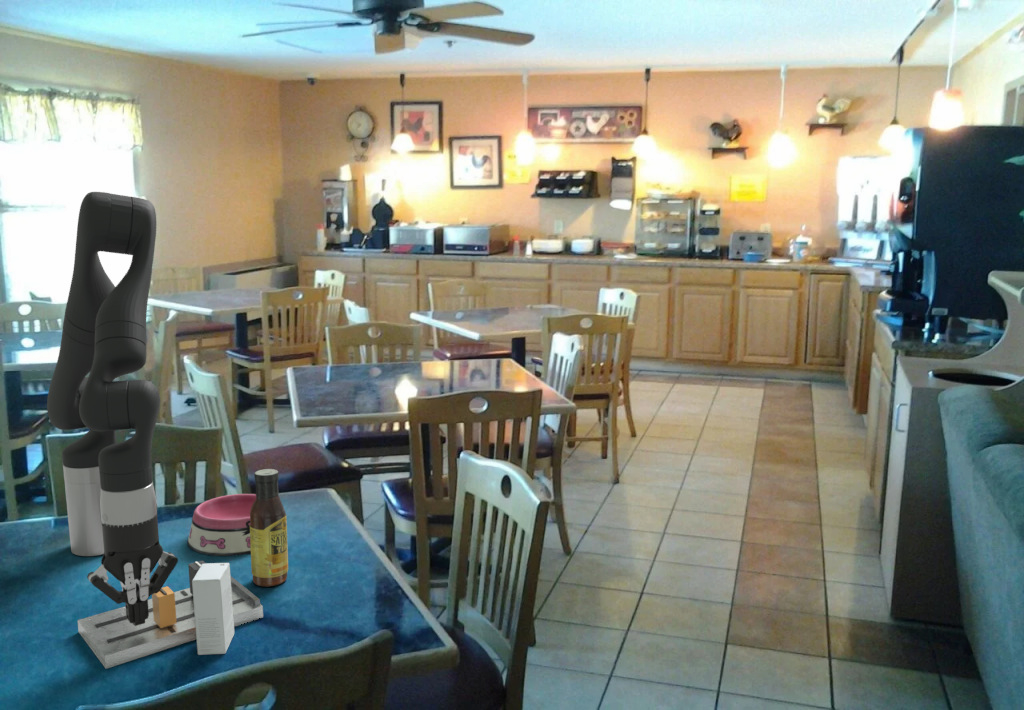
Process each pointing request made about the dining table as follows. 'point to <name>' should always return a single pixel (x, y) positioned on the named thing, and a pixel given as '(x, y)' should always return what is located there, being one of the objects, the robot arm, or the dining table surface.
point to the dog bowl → (222, 526)
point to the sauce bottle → (268, 531)
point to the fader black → (194, 572)
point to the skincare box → (213, 608)
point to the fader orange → (164, 607)
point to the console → (156, 627)
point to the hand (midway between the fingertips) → (137, 622)
